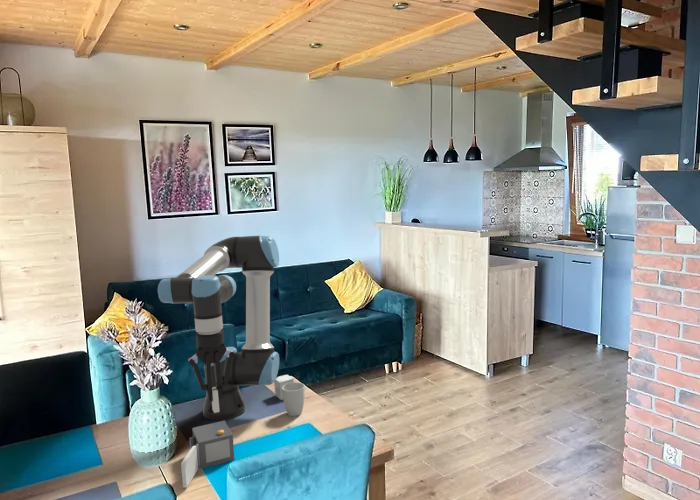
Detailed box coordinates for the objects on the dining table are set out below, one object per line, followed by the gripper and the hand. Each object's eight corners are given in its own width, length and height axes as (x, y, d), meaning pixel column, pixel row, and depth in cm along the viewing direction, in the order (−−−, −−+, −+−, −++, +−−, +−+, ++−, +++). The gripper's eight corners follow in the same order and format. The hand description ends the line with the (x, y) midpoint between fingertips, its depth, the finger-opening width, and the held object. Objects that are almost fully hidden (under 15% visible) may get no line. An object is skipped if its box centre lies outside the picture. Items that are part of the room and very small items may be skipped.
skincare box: (295, 396, 202) (294, 378, 201) (280, 400, 199) (279, 382, 198) (288, 391, 207) (287, 374, 207) (274, 395, 204) (273, 377, 204)
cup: (309, 409, 190) (308, 383, 188) (300, 419, 182) (298, 391, 181) (289, 407, 192) (287, 381, 191) (279, 416, 185) (277, 389, 184)
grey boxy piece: (189, 453, 161) (187, 426, 160) (226, 444, 166) (224, 418, 165) (195, 470, 151) (193, 441, 150) (234, 459, 156) (232, 432, 155)
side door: (200, 467, 152) (198, 443, 151) (188, 487, 141) (185, 462, 140) (192, 467, 152) (190, 443, 151) (179, 488, 141) (177, 463, 140)
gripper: (229, 324, 152) (235, 401, 155) (183, 331, 147) (190, 411, 150) (235, 330, 146) (241, 410, 148) (187, 338, 140) (194, 421, 143)
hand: (215, 410), depth 149 cm, fingers closed
